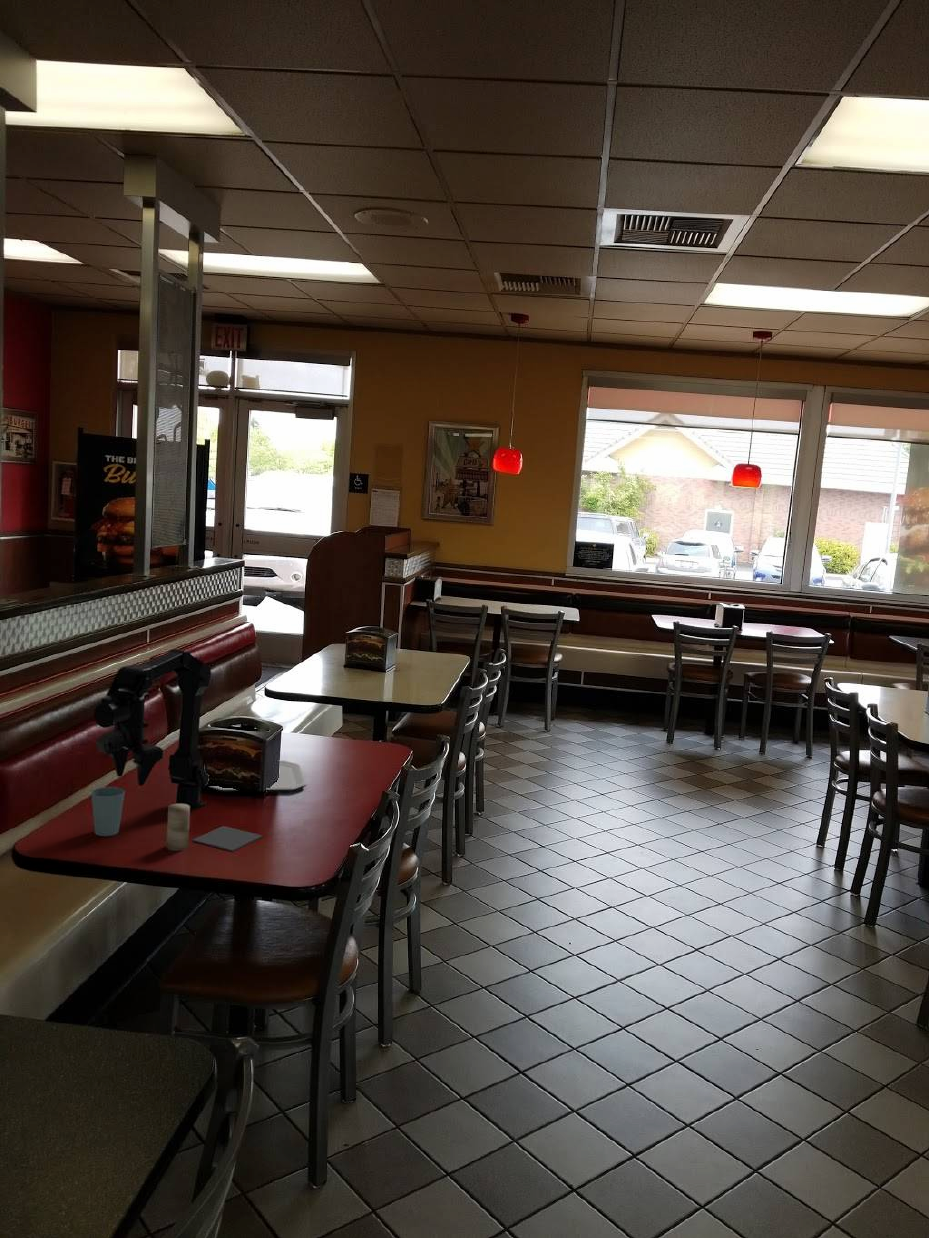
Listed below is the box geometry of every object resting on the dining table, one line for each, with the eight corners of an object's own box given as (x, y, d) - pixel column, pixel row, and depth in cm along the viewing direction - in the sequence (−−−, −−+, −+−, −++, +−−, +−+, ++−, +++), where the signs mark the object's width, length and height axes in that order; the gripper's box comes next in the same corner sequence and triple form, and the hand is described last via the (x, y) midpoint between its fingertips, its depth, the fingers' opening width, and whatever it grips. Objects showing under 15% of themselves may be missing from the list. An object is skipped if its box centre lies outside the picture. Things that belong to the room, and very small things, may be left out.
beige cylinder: (175, 841, 232) (177, 802, 230) (192, 846, 230) (194, 806, 229) (161, 847, 227) (163, 807, 226) (178, 852, 225) (180, 811, 224)
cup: (123, 826, 239) (124, 786, 238) (123, 837, 232) (125, 795, 231) (91, 827, 237) (92, 787, 235) (90, 838, 229) (91, 797, 228)
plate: (204, 796, 268) (205, 789, 267) (204, 766, 295) (204, 760, 295) (307, 795, 276) (308, 788, 275) (298, 766, 303) (298, 760, 303)
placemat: (223, 827, 244) (223, 825, 244) (262, 837, 239) (262, 835, 239) (192, 841, 233) (192, 839, 233) (232, 851, 228) (233, 850, 228)
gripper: (80, 715, 230) (79, 777, 232) (123, 732, 218) (121, 797, 221) (121, 709, 238) (120, 769, 241) (165, 724, 227) (163, 787, 229)
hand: (130, 780), depth 233 cm, fingers open, 9 cm apart
